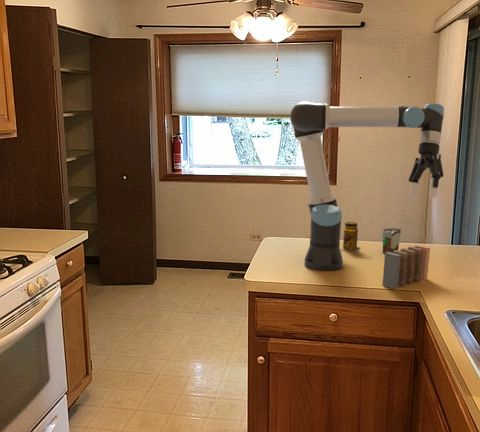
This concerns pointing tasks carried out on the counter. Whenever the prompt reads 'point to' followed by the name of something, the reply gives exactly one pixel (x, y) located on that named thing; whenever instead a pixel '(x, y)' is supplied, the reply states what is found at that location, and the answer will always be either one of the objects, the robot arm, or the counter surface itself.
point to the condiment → (350, 237)
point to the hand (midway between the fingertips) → (422, 197)
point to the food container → (390, 239)
